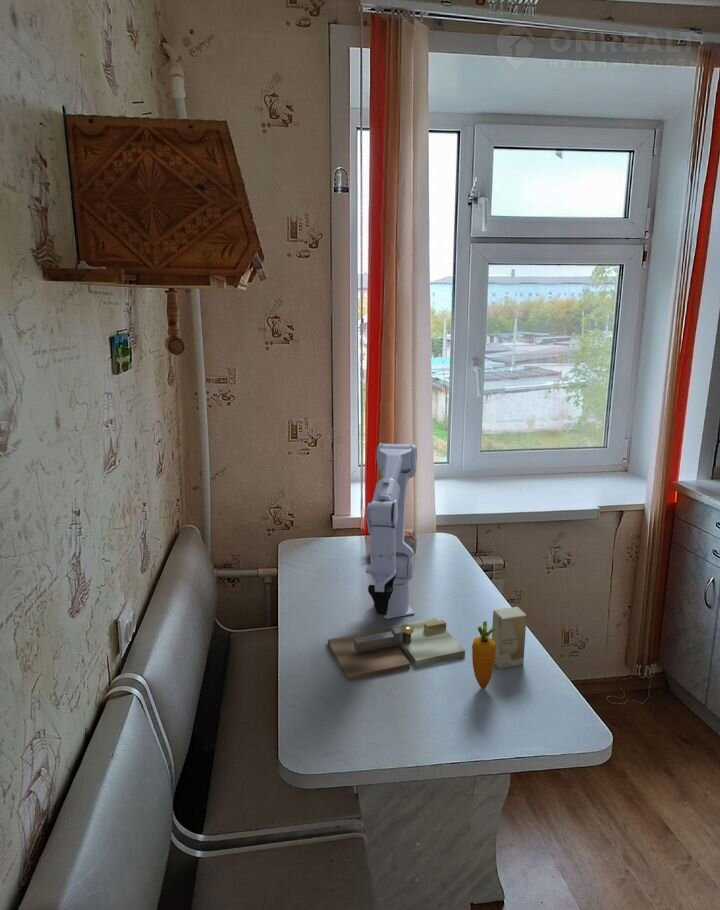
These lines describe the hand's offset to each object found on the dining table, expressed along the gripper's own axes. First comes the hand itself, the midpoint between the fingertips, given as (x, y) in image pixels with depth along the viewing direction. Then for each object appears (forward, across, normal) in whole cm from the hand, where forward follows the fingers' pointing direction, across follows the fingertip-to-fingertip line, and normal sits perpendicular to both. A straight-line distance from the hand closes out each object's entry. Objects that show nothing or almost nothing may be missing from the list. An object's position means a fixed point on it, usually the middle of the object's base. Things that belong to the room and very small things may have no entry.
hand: (383, 606), depth 145 cm
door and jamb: (+10, +2, +3) cm, 11 cm away
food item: (+11, -54, -3) cm, 55 cm away
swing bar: (+8, +3, 0) cm, 9 cm away
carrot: (+10, +14, +22) cm, 28 cm away
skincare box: (+10, +3, +28) cm, 30 cm away
